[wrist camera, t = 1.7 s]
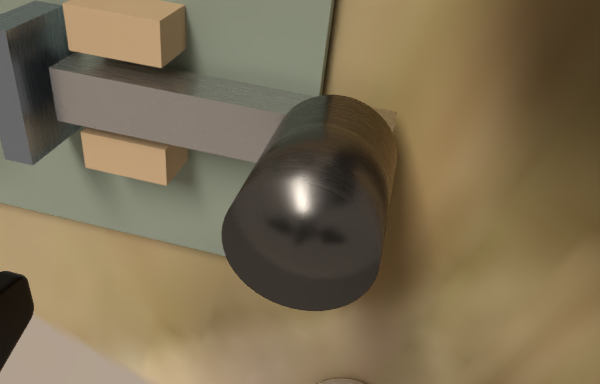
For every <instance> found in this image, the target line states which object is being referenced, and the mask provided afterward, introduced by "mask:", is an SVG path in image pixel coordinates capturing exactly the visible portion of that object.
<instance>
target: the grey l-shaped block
mask: <svg viewBox="0 0 600 384" xmlns="http://www.w3.org/2000/svg"><path fill="white" fill-rule="evenodd" d="M396 113H397V112H394V111H389V110H383V109H378V108H373V107H370V106H368V105H366V104H365V103H363V102H361V101H358V100H356V99H353V98H350V97H346V96H340V95H321V96H311V95H306V94H300V93H295V92H290V91H285V90H280V89H274V88H269V87H264V86H259V85H254V84H249V83H243V82H238V81H233V80H228V79H223V78H217V77H212V76H207V75H202V74H197V73H191V72H186V71H181V70H176V69H171V68H166V67H163V68H158V67H153V66H147V65H142V64H137V63H132V62H127V61H122V60H116V59H111V58H106V57H101V56H96V55H90V54H85V53H80V52H75V53H73V54H71V53H70V50H69V47H68V40H67V33H66V26H65V19H64V12H63V5H58V4H53V3H47V2H42V1H36V0H35V1H33V2H30V3H28V4H25V5H23V6H20V7H17V8H15V9H12V10H10V11H7V12H5V13H2V14H0V140H1V144H2V148H3V153H4V157H5V159H6V160H10V161H15V162H19V163H24V164H28V165H34V164H36V163H37V162H38V161H39V160H41V159H42V158H43V157H44V156H46V155H47V154H48V153H50V152H51V151H52V150H53V149H55V148H56V147H57V146H58V145H60V144H61V143H62V142H63V141H65V140H66V139H67V138H69V137H70V136H71V135H72V134H74V133H75V132H76V131H77V130H79V129H80V128H81V126H85V127H89V128H94V129H99V130H104V131H108V132H113V133H118V134H122V135H127V136H132V137H137V138H141V139H146V140H151V141H155V142H160V143H165V144H169V145H174V146H179V147H184V148H188V149H193V150H198V151H202V152H207V153H212V154H217V155H221V156H226V157H231V158H235V159H240V160H245V161H250V162H254V163H256V164H255V166H254V168H253V169H252V171H251V173H250V174H249V176H248V178H247V179H246V181H245V183H244V184H243V186H242V188H241V189H240V191H239V193H238V194H237V196H236V198H235V199H234V201H233V203H232V204H231V206H230V208H229V209H228V211H227V213H226V215H225V217H224V221H223V224H222V232H221V235H222V245H223V250H224V252H225V255H226V258H227V260H228V262H229V264H230V266H231V267H232V269H233V270H234V271H235V273H236V274H237V275H238V276H239V278H240V279H241V280H242V281H243V282H244V283H245V284H246V285H247V286H249V287H250V288H251V289H252V290H254V291H255V292H256V293H258V294H260V295H261V296H263V297H264V298H266V299H268V300H270V301H272V302H275V303H277V304H280V305H282V306H286V307H289V308H293V309H298V310H306V311H324V310H331V309H336V308H339V307H342V306H345V305H348V304H350V303H352V302H354V301H355V300H357V299H358V298H360V297H361V296H362V295H363V294H364V293H365V292H367V290H368V289H369V288H370V287H371V285H372V284H373V282H374V280H375V278H376V276H377V273H378V270H379V265H380V259H381V253H382V247H383V241H384V235H385V229H386V223H387V217H388V211H389V205H390V200H391V194H392V188H393V182H394V176H395V170H396V164H397V145H396V141H395V138H394V135H393V128H394V123H395V118H396Z"/></svg>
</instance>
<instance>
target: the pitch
mask: <svg viewBox="0 0 600 384" xmlns="http://www.w3.org/2000/svg"><path fill="white" fill-rule="evenodd" d="M33 1H35V0H0V14H2V13H5V12H7V11H10V10H12V9H15V8H17V7H20V6H23V5H25V4H28V3H30V2H33ZM36 1H42V2H47V3H53V4H58V5H63V12H64V19H65V26H66V33H67V40H68V47H69V50H70V53H71V54H73V53H75V52H80V53H85V54H90V55H96V56H101V57H106V58H111V59H116V60H122V61H127V62H132V63H137V64H142V65H147V66H153V67H158V68H163V67H166V68H171V69H176V70H181V71H186V72H191V73H197V74H202V75H207V76H212V77H217V78H223V79H228V80H233V81H238V82H243V83H249V84H254V85H259V86H264V87H269V88H274V89H280V90H285V91H290V92H295V93H300V94H306V95H311V96H321V95H322V90H323V83H324V76H325V68H326V61H327V53H328V46H329V38H330V31H331V24H332V16H333V9H334V1H335V0H36ZM255 164H256V163H254V162H250V161H245V160H240V159H235V158H231V157H226V156H221V155H217V154H212V153H207V152H202V151H198V150H193V149H188V148H184V147H179V146H174V145H169V144H165V143H160V142H155V141H151V140H146V139H141V138H137V137H132V136H127V135H122V134H118V133H113V132H108V131H104V130H99V129H94V128H89V127H85V126H81V128H80V129H79V130H77V131H76V132H75V133H74V134H72V135H71V136H70V137H69V138H67V139H66V140H65V141H63V142H62V143H61V144H60V145H58V146H57V147H56V148H55V149H53V150H52V151H51V152H50V153H48V154H47V155H46V156H44V157H43V158H42V159H41V160H39V161H38V162H37V163H36V164H34V165H28V164H24V163H19V162H15V161H10V160H6V159H5V157H4V153H3V148H2V144H1V140H0V203H4V204H8V205H12V206H16V207H20V208H25V209H29V210H33V211H37V212H41V213H46V214H50V215H54V216H58V217H62V218H67V219H71V220H75V221H79V222H83V223H88V224H92V225H96V226H100V227H104V228H109V229H113V230H117V231H121V232H125V233H130V234H134V235H138V236H142V237H146V238H151V239H155V240H159V241H163V242H167V243H172V244H176V245H180V246H184V247H188V248H193V249H197V250H201V251H205V252H210V253H214V254H218V255H222V256H226V255H225V252H224V250H223V245H222V235H221V232H222V224H223V221H224V217H225V215H226V213H227V211H228V209H229V208H230V206H231V204H232V203H233V201H234V199H235V198H236V196H237V194H238V193H239V191H240V189H241V188H242V186H243V184H244V183H245V181H246V179H247V178H248V176H249V174H250V173H251V171H252V169H253V168H254V166H255Z"/></svg>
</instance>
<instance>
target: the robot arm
mask: <svg viewBox="0 0 600 384" xmlns="http://www.w3.org/2000/svg"><path fill="white" fill-rule="evenodd" d="M33 311H34V303H33V299H32V295H31V291H30V287H29V283H28V280H27V278H26V277H25V276H24V275H21V274H17V273H13V272H9V271H2V272H0V371H1V370H2V368H3V366H4V364H5V363H6V361H7V359H8V358H9V356H10V354H11V352H12V351H13V349H14V347H15V346H16V343H17V342H18V340H19V339H20V337H21V335H22V333H23V332H24V330H25V328H26V327H27V325H28V323H29V321H30V320H31V318H32V315H33Z"/></svg>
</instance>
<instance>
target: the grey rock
mask: <svg viewBox="0 0 600 384" xmlns="http://www.w3.org/2000/svg"><path fill="white" fill-rule="evenodd" d="M317 384H364V383H362V382H359V381H356V380H353V379H346V378H334V379H329V380H325V381H322V382H320V383H317Z"/></svg>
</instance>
